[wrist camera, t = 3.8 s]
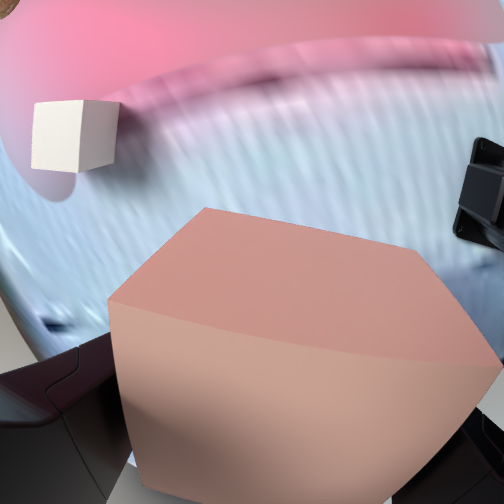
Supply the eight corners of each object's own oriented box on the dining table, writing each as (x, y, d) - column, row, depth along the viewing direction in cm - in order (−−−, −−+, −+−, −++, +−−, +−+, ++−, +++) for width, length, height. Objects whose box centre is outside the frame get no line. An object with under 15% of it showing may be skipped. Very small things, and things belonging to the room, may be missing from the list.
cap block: (120, 102, 17) (83, 99, 13) (114, 162, 19) (78, 172, 15) (73, 102, 17) (34, 103, 14) (69, 158, 19) (31, 168, 15)
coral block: (416, 250, 8) (503, 366, 4) (351, 399, 10) (363, 518, 6) (205, 207, 9) (107, 299, 4) (191, 370, 11) (142, 485, 6)
